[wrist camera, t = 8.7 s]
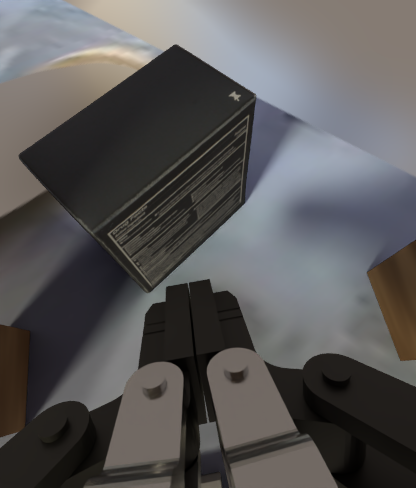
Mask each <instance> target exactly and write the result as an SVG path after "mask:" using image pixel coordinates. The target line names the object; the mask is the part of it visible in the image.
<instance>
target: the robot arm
mask: <svg viewBox="0 0 416 488" xmlns="http://www.w3.org/2000/svg"><path fill="white" fill-rule="evenodd" d="M189 288H190V294H189ZM189 288H188V284H187V283H185V284H179V285H174V286H168V287H166V302H160V303H155V304H152V306H151V307H150V309H149V310H148V311H147V313H146V314H145V322H144V329H143V337H142V344H141V352H140V359H139V367H138V370H137V371H136V372H135V373H134V374H133V375H132V376H131V377H130V378H129V380H128V382H127V383H126V386H125V389H124V393H123V394H122V395H121V396H120V397H118V398H117V399H115V400H113V401H111V402H109V403H107V404H105V405H103V406H101V407H99V408H97V409H94V410H92V411H90V412H89V411H88V409H87V407H86V406H85V405H84V404H82V403H80V402H76V401H67V402H62V403H59V404H56V405H54V406H52V407H50V408H48V409H46V410H45V411H43V412H42V413H41V414H39V415H38V416H37V417H36V418H35V419H33V420H32V421H31V422H30V423H29V424H28V425H27V426H25V427H24V428H23V429H22V430H21V431H20V432H18V433H17V434H16V435H15V436H14V437H13V438H12V439H10V440H9V441H8V442H7V443H6V444H5V445H4V446H2V447H1V448H0V488H201V454H200V449H199V448H200V434H199V425H200V424H205V423H207V418H206V409H205V402H206V407H207V412H208V417H209V422H214V421H216V426H217V431H218V437H219V442H220V448H221V453H222V458H223V462H224V466H225V471H226V475H227V480H228V484H229V488H416V387H415V386H412V385H410V384H408V383H405V382H403V381H401V380H399V379H396V378H394V377H392V376H390V375H387V374H385V373H383V372H381V371H378V370H376V369H374V368H372V367H369V366H367V365H365V364H363V363H360V362H358V361H356V360H354V359H351V358H349V357H346V356H343V355H339V354H331V353H327V354H320V355H317V356H314V357H312V358H311V359H309V360H308V361H307V362H306V364H305V365H304V368H303V370H301V369H288V368H281V367H277V366H274V365H271V364H269V363H267V362H265V361H264V360H263V359H262V358H261V357H260V356H259V355H258V354H257V353H256V351H255V349H254V346H253V343H252V340H251V338H250V335H249V332H248V329H247V326H246V324H245V321H244V318H243V315H242V312H241V310H240V307H239V304H238V301H237V298H236V297H235V296H233V295H232V294H231V293H230V292H228V291H222V292H216V293H213V291H212V287H211V283H210V279H207V280H202V281H196V282H190V283H189ZM190 298H191V299H190ZM203 391H204V392H203ZM204 396H205V400H204Z"/></svg>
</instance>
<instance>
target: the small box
mask: <svg viewBox="0 0 416 488" xmlns="http://www.w3.org/2000/svg"><path fill="white" fill-rule="evenodd" d="M255 102H256V94H254V93H253V92H251V91H250V90H248V89H246V88H245V87H243V86H241V85H240V84H238V83H237V82H235V81H234V80H232V79H230V78H229V77H227V76H226V75H224V74H223V73H221V72H219V71H218V70H216V69H215V68H213V67H212V66H210V65H209V64H207V63H205V62H204V61H202V60H201V59H199V58H198V57H196V56H194V55H193V54H191V53H190V52H188V51H186V50H185V49H183V48H181V47H180V46H179V45H173V46H172V47H170V48H169V49H168V50H166V51H165V52H163V53H162V54H161V55H159V56H158V57H156V58H155V59H154V60H152V61H151V62H149V63H148V64H147V65H145V66H144V67H142V68H141V69H140V70H138V71H137V72H135V73H134V74H133V75H131V76H130V77H128V78H127V79H126V80H124V81H123V82H121V83H120V84H118V85H117V86H116V87H114V88H113V89H111V90H110V91H108V92H107V93H106V94H104V95H103V96H101V97H100V98H99V99H97V100H96V101H94V102H93V103H91V104H90V105H89V106H87V107H86V108H84V109H83V110H82V111H80V112H79V113H77V114H76V115H74V116H73V117H72V118H70V119H69V120H67V121H66V122H64V123H63V124H62V125H60V126H59V127H57V128H56V129H55V130H53V131H52V132H50V133H49V134H47V135H46V136H45V137H43V138H42V139H40V140H39V141H37V142H36V143H35V144H33V145H32V146H31V147H29V148H27V149H26V150H25V151H23V152H22V153H20V154H19V159H20V160H21V161H22V163H23V164H24V165H25V166H26V167H27V168H28V170H30V172H31V173H32V174H33V175H34V176H35V177H36V178H37V179H38V180H39V181H40V183H41V184H42V185H43V186H44V187H45V188H46V189H47V190H48V191H49V192H50V193H51V194H52V196H53V197H54V198H55V199H56V200H57V201H58V202H59V203H60V204H61V205H62V206H63V207H64V208H65V209H66V210H67V211H68V212H69V213H70V215H71V216H72V217H73V218H74V219H75V220H76V221H77V222H78V223H79V224H80V225H81V226H82V227H83V228H84V229H85V230H86V231H87V232H88V233H89V234H90V235H91V236H92V237H93V238H94V239H95V240H96V241H97V242H98V243H99V244H100V245H101V246H102V247H103V248H104V249H105V250H106V251H107V252H108V253H109V254H110V255H111V256H112V258H113V259H114V260H115V261H116V262H117V263H118V264H119V265H120V266H121V267H122V268H123V269H124V270H125V271H126V272H127V273H128V274H129V275H130V276H131V277H132V279H133V280H134V281H135V282H136V283H137V284H138V285H139V286H140V287H141V288H142V289H143V290H144V291H145V292H146V293H149V292H151V291H152V290H153V289H154V288H155V287H156V286H157V285H158V284H159V283H160V282H161V281H163V280H164V279H165V278H166V277H167V276H168V275H169V274H170V273H171V272H172V271H173V270H174V269H175V268H176V267H178V266H179V265H180V264H181V263H182V262H183V261H184V260H185V259H186V258H187V257H188V256H189V255H190V254H191V253H193V252H194V251H195V250H196V249H197V248H198V247H199V246H200V245H201V244H202V243H203V242H204V241H205V240H206V239H207V238H209V237H210V236H211V235H212V234H213V233H214V232H215V231H216V230H217V229H218V228H219V227H220V226H221V225H222V224H223V223H224V222H225V221H226V220H228V219H229V218H230V217H231V216H232V215H233V214H234V213H235V212H236V211H237V210H238V209H239V208H240V207H241V206H242V205H243V204H244V203H245V188H246V179H247V170H248V160H249V153H250V144H251V137H252V136H251V135H252V126H253V120H254V109H255Z"/></svg>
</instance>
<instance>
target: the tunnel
mask: <svg viewBox="0 0 416 488" xmlns="http://www.w3.org/2000/svg"><path fill="white" fill-rule="evenodd" d="M367 274H368V277H369V279H370V282H371V285H372V287H373V290H374V292H375V295H376V298H377V300H378V303H379V306H380V308H381V311H382V313H383V316H384V319H385V321H386V324H387V327H388V329H389V332H390V334H391V337H392V340H393V342H394V345H395V348H396V350H397V353H398V355H399V358H400V361H405V360H416V240H415V241H413V242H412V243H410V244H409V245H407V246H406V247H404V248H403V249H401V250H400V251H398V252H397V253H395V254H394V255H392V256H391V257H389V258H388V259H386V260H385V261H383V262H382V263H380V264H379V265H377V266H376V267H374V268H373V269H371V270H370V271H368V272H367ZM29 341H30V331H28V330H23V329H19V328H14V327H10V326H5V325H0V437H3V436H6V435H9V434H13V433H16V432H20V431H21V430H22V429H23V428H24V427H25V418H26V399H27V380H28V361H29Z"/></svg>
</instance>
